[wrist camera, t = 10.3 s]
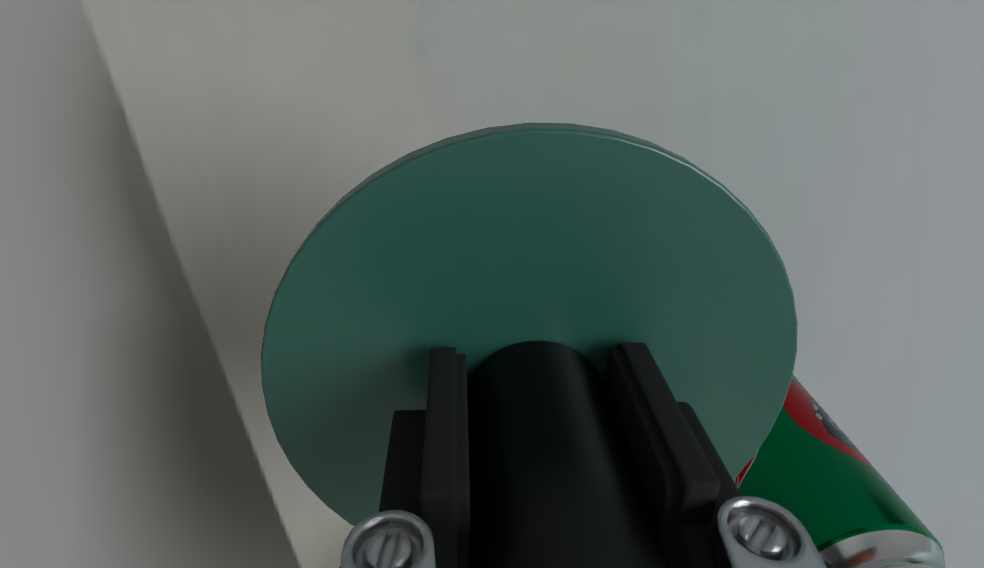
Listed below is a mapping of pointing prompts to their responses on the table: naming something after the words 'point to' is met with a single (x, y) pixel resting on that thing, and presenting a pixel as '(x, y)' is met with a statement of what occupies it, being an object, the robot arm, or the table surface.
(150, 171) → the table surface
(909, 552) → the soda can
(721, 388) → the lid
